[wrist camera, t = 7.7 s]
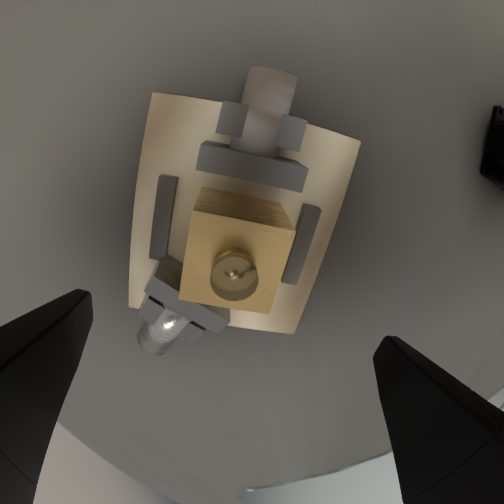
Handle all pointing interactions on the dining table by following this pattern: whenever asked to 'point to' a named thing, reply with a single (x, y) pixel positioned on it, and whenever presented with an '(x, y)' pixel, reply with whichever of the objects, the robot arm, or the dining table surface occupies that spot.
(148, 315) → the shaft
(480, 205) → the dining table surface
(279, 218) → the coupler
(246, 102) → the cream mounting plate
